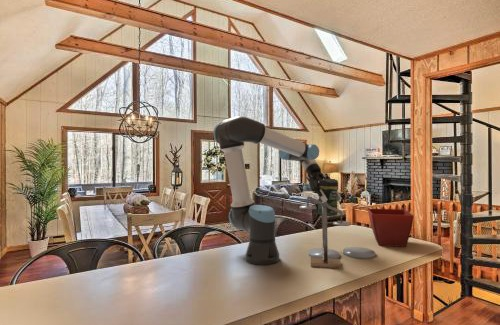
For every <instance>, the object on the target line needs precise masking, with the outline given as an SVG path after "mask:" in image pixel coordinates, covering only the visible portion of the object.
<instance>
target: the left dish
mask: <svg viewBox="0 0 500 325" xmlns="http://www.w3.org/2000/svg"><path fill="white" fill-rule="evenodd" d="M340 254H341V253H340V252H339V251H337V250H335V249H333V248H328V258H331V259H340V258H341V257H340V256H341V255H340ZM308 256H309V257H310V256H311V257H313V258H323V247H322V248H321V247H319V248H312V249H309V250H308ZM311 257H310V258H311Z"/></svg>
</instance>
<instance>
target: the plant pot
mask: <svg viewBox="0 0 500 325" xmlns="http://www.w3.org/2000/svg"><path fill="white" fill-rule="evenodd" d="M367 211H368V212H367V214H368V217H369V222H370V226H371V230H372V234H373V235H374V239H375V241H376V243H377V245H378V246H383V247H384V246H385V247H387V246H388V247H407V244H408V241H409V238H410V235H411V231H412V228H413V221H414V214H413V213H411V212H410V211H407V210H406V209H403V208H401V209H400V208H399V209H398V208H368V209H367Z"/></svg>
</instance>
